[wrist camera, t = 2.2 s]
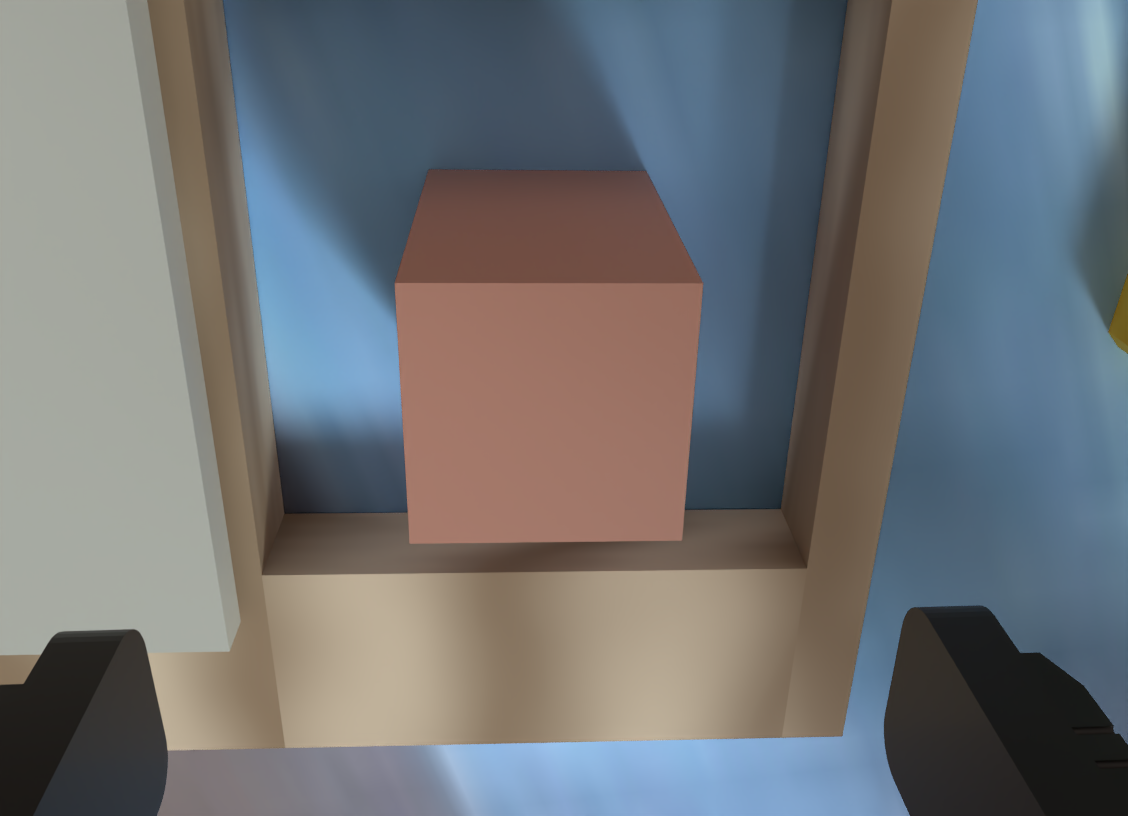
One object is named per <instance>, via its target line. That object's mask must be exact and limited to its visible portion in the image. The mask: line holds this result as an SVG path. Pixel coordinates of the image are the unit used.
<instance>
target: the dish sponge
mask: <svg viewBox="0 0 1128 816" xmlns="http://www.w3.org/2000/svg"><path fill="white" fill-rule="evenodd" d="M1108 332H1109V334H1110V335H1111V337H1112V338H1113V340H1114V341H1115V343H1116V345H1117V346H1118V347H1119V348H1121V349H1122V350H1123V351H1125V352H1126V353H1127V354H1128V274H1127V277H1126V280H1125V283H1124V286H1123V289H1122V292H1121V295H1120V298H1119V301H1118V304H1117V307H1116V310H1115V313H1114V316H1113V319H1112V322H1111V325H1110V328H1109V331H1108Z"/></svg>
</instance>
